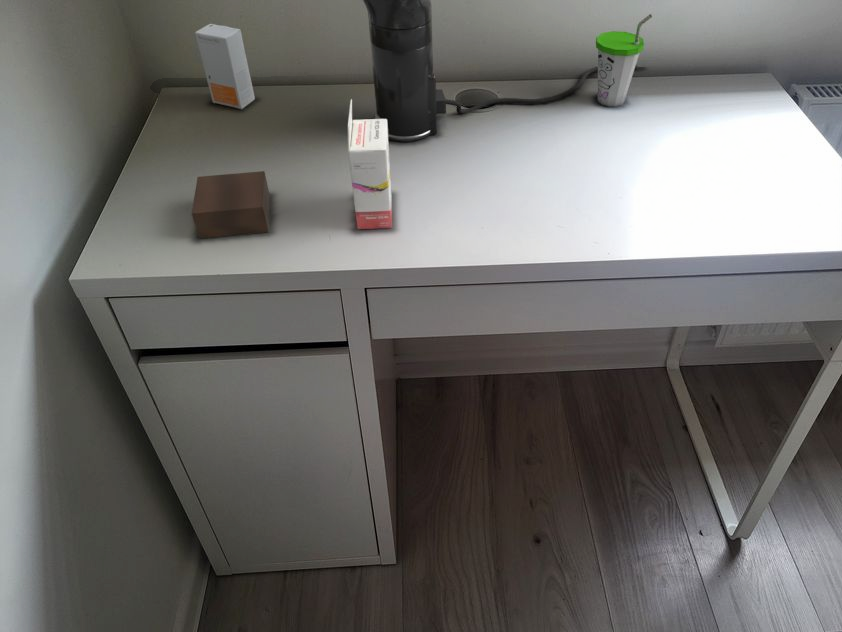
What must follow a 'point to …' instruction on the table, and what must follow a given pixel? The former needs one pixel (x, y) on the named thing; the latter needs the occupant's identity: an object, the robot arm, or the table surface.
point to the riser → (231, 204)
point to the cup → (617, 63)
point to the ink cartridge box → (370, 171)
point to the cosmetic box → (225, 65)
